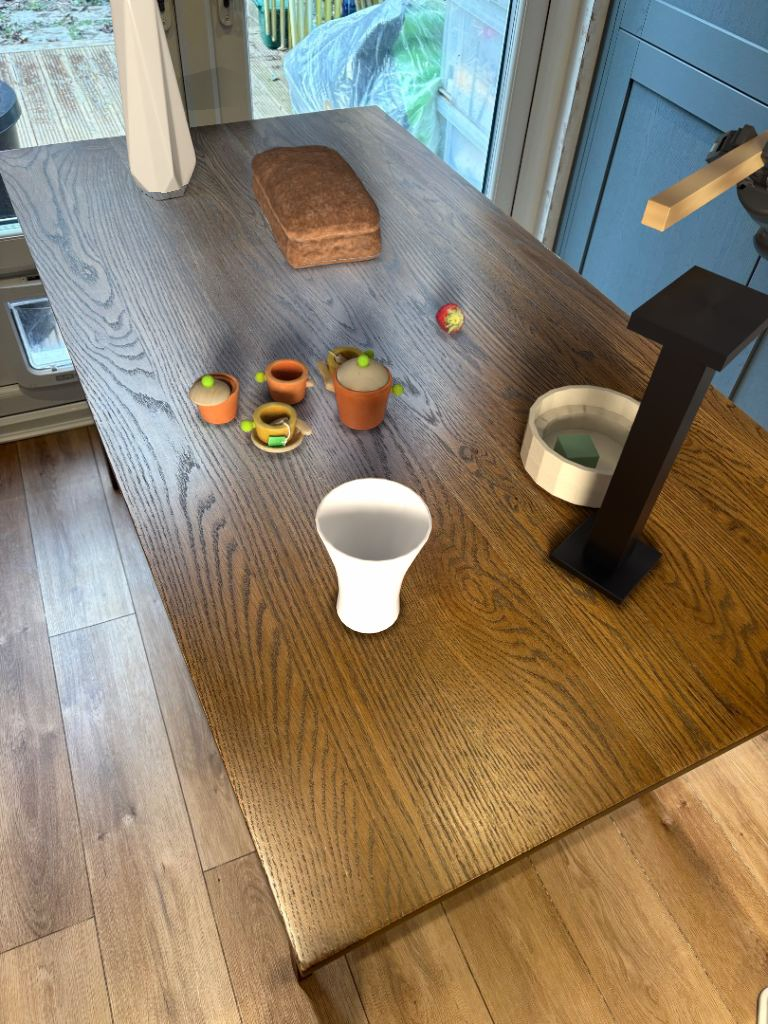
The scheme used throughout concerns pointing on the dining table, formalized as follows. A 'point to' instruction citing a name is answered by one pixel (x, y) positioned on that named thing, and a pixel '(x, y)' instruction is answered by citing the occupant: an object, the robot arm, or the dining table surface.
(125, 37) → the vase
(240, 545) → the dining table surface
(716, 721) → the dining table surface
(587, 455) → the block
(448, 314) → the fruit
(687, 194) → the rectangular bar
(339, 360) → the toy tea set
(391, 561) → the cup
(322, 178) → the bread
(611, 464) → the bowl
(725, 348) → the stand
